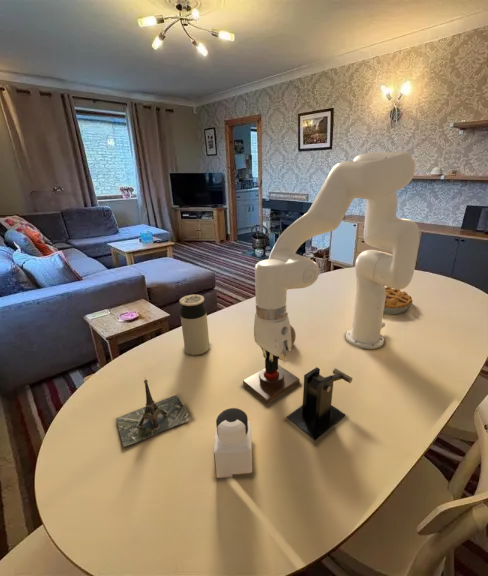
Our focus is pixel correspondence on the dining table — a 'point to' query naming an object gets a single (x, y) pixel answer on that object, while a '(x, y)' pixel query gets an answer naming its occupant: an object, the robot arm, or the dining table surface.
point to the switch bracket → (316, 407)
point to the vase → (292, 335)
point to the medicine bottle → (232, 443)
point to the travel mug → (194, 324)
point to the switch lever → (337, 376)
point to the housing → (270, 384)
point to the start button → (271, 375)
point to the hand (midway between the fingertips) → (271, 370)
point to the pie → (396, 301)
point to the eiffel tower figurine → (151, 418)
